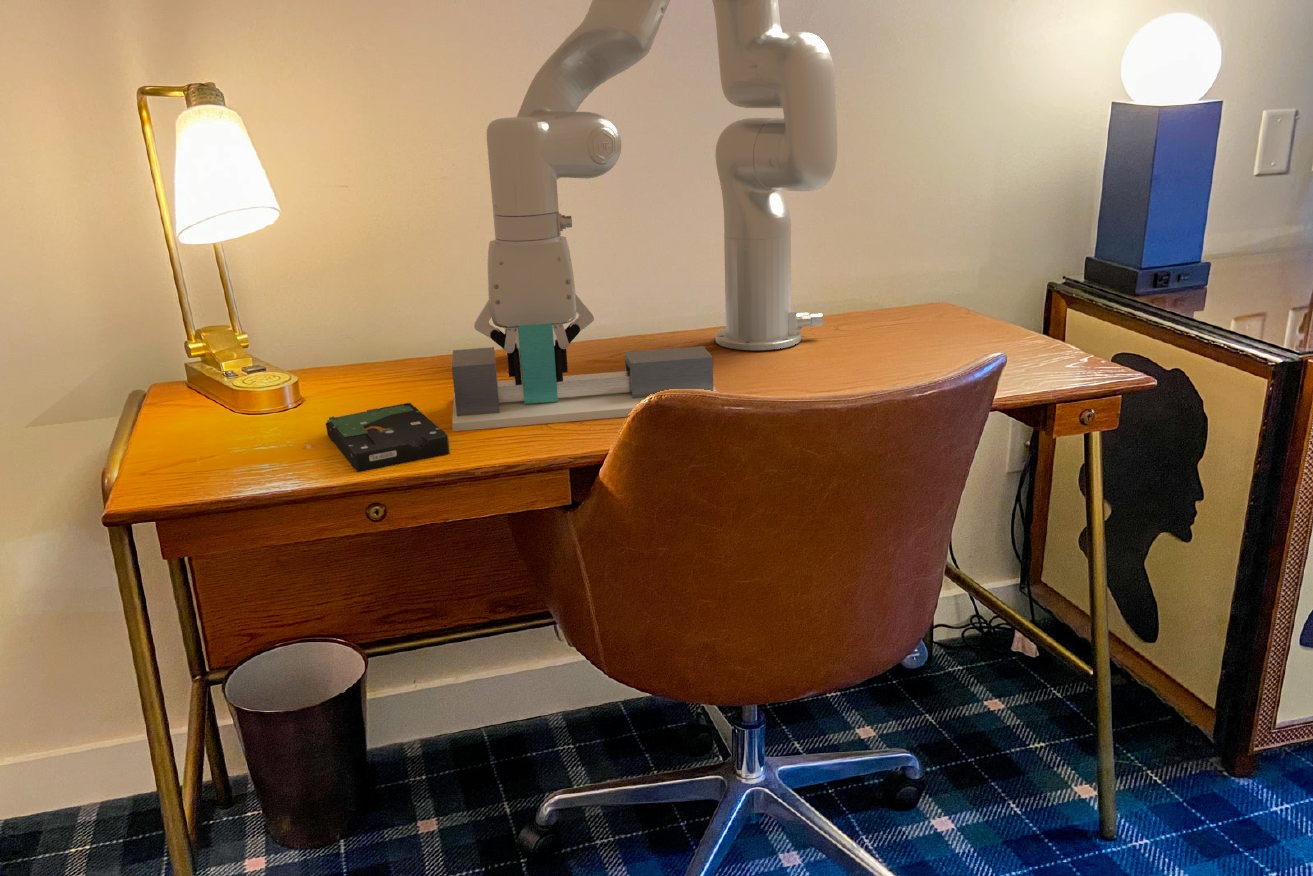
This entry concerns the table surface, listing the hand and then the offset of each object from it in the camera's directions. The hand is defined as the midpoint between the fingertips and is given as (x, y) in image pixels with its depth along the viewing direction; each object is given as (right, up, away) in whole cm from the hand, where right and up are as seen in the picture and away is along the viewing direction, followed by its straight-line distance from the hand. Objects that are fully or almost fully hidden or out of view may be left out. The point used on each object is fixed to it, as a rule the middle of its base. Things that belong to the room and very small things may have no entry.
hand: (538, 378), depth 129 cm
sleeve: (+16, -2, +3) cm, 16 cm away
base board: (+6, -3, +2) cm, 7 cm away
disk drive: (-16, -8, -9) cm, 20 cm away
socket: (-7, -3, 0) cm, 8 cm away
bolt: (+3, -2, +1) cm, 4 cm away
